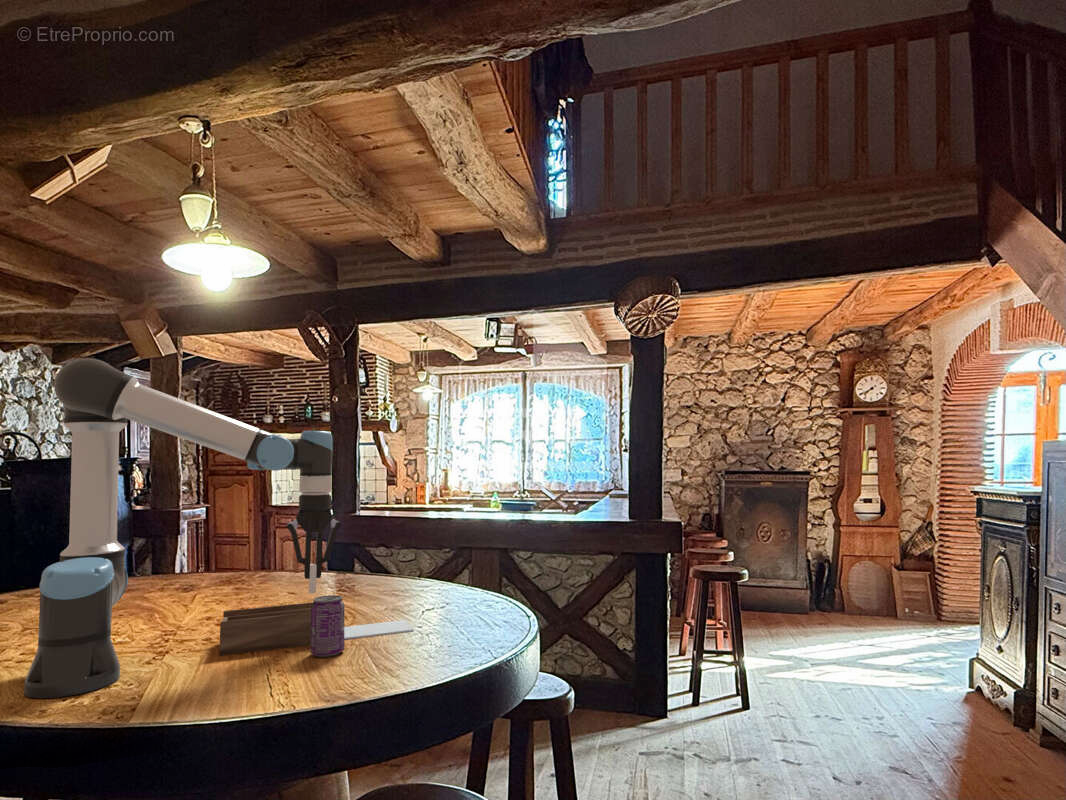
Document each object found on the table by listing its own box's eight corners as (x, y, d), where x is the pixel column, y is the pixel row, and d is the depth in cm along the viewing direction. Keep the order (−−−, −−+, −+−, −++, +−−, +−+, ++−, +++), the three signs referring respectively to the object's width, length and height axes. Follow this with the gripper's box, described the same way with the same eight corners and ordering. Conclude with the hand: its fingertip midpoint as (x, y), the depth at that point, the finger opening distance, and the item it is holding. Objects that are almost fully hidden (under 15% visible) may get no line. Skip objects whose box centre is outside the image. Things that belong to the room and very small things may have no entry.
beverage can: (332, 647, 147) (332, 593, 148) (350, 652, 143) (351, 597, 144) (304, 655, 142) (304, 599, 143) (322, 660, 137) (322, 602, 139)
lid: (413, 633, 160) (413, 616, 160) (324, 644, 152) (324, 627, 152) (405, 623, 170) (404, 608, 170) (320, 633, 162) (321, 617, 162)
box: (324, 642, 151) (324, 611, 152) (219, 655, 143) (220, 622, 144) (320, 630, 162) (320, 601, 163) (223, 642, 154) (223, 611, 155)
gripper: (341, 492, 165) (338, 587, 163) (286, 493, 160) (283, 591, 158) (344, 493, 158) (341, 592, 156) (287, 494, 153) (283, 597, 151)
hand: (312, 592), depth 157 cm, fingers closed
